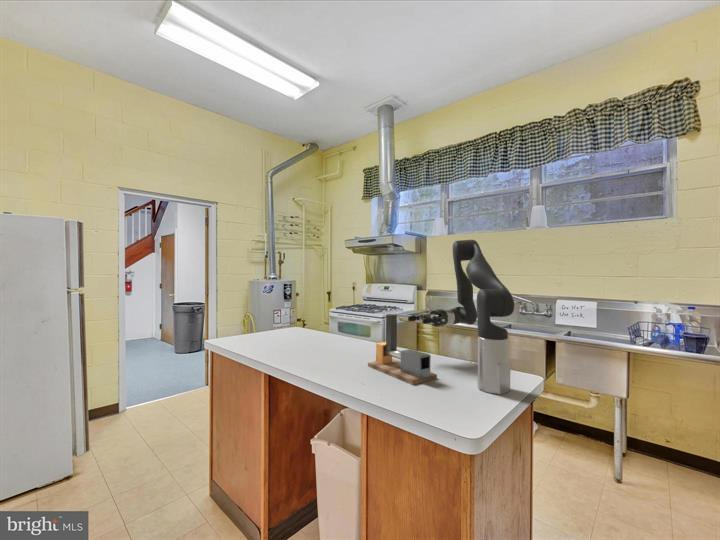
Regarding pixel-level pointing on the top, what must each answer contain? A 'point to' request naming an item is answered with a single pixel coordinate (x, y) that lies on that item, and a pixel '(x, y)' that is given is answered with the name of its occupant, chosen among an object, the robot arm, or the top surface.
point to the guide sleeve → (415, 363)
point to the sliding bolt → (391, 337)
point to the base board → (399, 372)
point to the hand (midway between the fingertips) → (415, 319)
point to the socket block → (380, 356)
